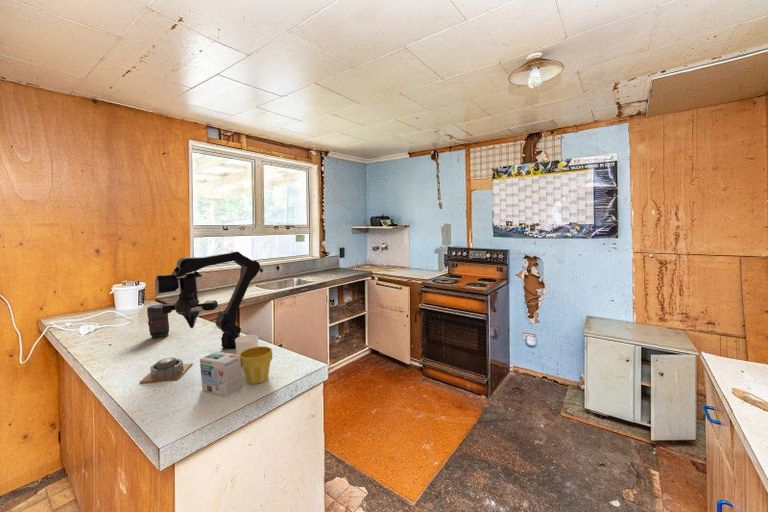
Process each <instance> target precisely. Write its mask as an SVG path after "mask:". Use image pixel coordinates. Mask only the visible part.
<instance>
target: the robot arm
mask: <svg viewBox="0 0 768 512" xmlns="http://www.w3.org/2000/svg"><path fill="white" fill-rule="evenodd" d="M229 262H234V263H235V264H236V265H238V266H239V267H240V271H239V278H238V281H237V284H236V286H235V289H234V290H233V292H232V295H231V297H230V299H229V302H228V303H227V306H226V308H225V309H224V310H223V311H221V310H219V311H218V314H217V316H216V318H215V319H214V320H215V327H216V328H218V329H219V330H220V331H221V332H222V336H221V347H222V348H221V350H232V349H233V348H234V349H236V343H235V339H236V338H238V337H240V335H241V332H242V328H241V327H239V326H238V325H237V324H236V323H237V317H238V315H237V314H238V310H239V308H240V306H241V304H242V301H243V299H244V296H245V294H246V292H247V290H248V288H249V286H250V283H251V282H252V280H253V279H255V278H256V276H257V275H258V273H259V272H260V269H261V265H260V262H258V261H257V260H253V259H251V258H249V257H247V256H245V255H243V254H242V253H241V252H239V251H235V250H232V251H230V252H229V251H228V252H224V253H218V254H217V253H216V254H213V255H208V256H200V257H199V256H191V257H190V256H184V257H180V258H179V259H178V260H177V262H176V266H175V268H174V269H173V270H172V272H171V273H170V274H163V275H162V274H161V275H160V274H159V275H157V274H156V277H155V278H156V279H155V290H156V293H157V294H165V293H173V292H176V291H177V290H178V289H179V290H180V291H179V292H180V293H179V294H178V299H177V300H176V301H175V302H169V303H166V304H165V305H164V306H162V308H161V313H162V314H164V313H168V314H170V313H172V312H173V311H175V312H176V314H178V315H181V316H183V318H184V319H185V320H186V322H187V324H188V326H189V328H190V329H194V327H195V325H196V322H197V318H198V316H199V314H200V312H202V311H205V312H206V311H207V312H209V311H214V310H215V309H216V308H218V307H219V303H218V301H217V300H216V299H215V300H206V301H205V302H203V303H200V299H199V297H198V296H199V295H198V293H199V290H198V286H197V285H198V284H197V278H202V277H203V275H202V274H201V273H199V272H198V271H199V270H201V269H203V268H206V267H210V266H214V265H219V264H220V265H221V264H224V263H229Z"/></svg>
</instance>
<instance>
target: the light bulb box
mask: <svg viewBox="0 0 768 512" xmlns="http://www.w3.org/2000/svg"><path fill="white" fill-rule="evenodd" d="M199 365H200V366H199V367H200V376H201V377H200V378H201V390H202V391H203V392H207V393H211V394H216V395H220V396H222V397H227V396H229V395H231V394H232V392H233V393H234V392H237V390H239V389H240V388H242V387H243V377H242V375H243V374H242V367H241V360H240V355H237V353H236V354H234V353H228V352H222V351H217V350H216V351H214V352H211V353H210V354H208V355H205V356H203V357H200V359H199Z"/></svg>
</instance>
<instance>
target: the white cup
mask: <svg viewBox="0 0 768 512" xmlns="http://www.w3.org/2000/svg"><path fill="white" fill-rule="evenodd" d="M258 341H259V336H258V335H257V334H244V335H241V336H240V337H238V338H236V339H235V343H236V348H235V350H236V355H239V354H240V353H241V352H242V351H244V350H246V349H249V348H253V347H259V342H258ZM241 368H243V367H242V366H241Z"/></svg>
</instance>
